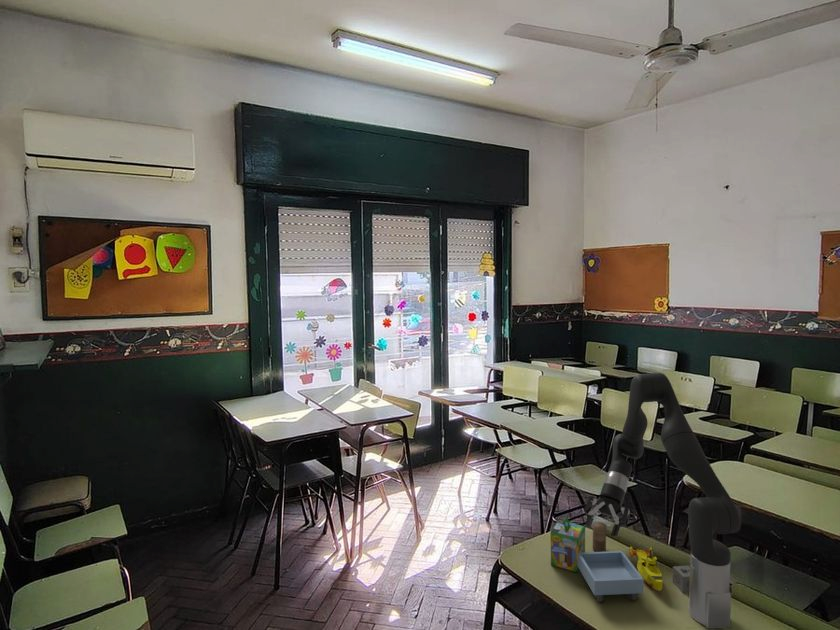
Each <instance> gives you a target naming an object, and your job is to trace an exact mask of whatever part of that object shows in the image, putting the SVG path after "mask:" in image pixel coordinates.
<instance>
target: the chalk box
mask: <svg viewBox="0 0 840 630" xmlns="http://www.w3.org/2000/svg"><path fill="white" fill-rule="evenodd" d="M583 552H586V526H584V525H580V524H577V523H574V522H570V519H569V516H568V515H567V514H566V516H564V519H563V520H560V519H558V520H557V521H556V523H555V524H554V526H553V527H552V529H551V530H550V565H551V566H552V567H557V568H560V569H564V570H567V571H571V572H574V573H577V574H579V573H581V571H580V569H579V568H578V566H577V553H583Z"/></svg>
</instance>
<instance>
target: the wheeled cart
mask: <svg viewBox="0 0 840 630" xmlns="http://www.w3.org/2000/svg"><path fill="white" fill-rule="evenodd" d="M577 566H578V568H579V569H580V573H581V575H582V576H583V579H584V581H585V582H586V583H587V585H588V587H589V588H590V590H591V593H593V595H594V596H595V599H596V601H597V602H600V603H601V602H604V596H609V595H628V596H627V597H628V599H629V600H630V601H637V599H638V598H637V597H638V595H637V594H644V586H645V584H644V583H645V581H644V579H643V578H642V576H641V575H640V573H639V572H638V569H637V567H635V566H634V564H633V563H632V561H630V559H629V558H628V556H627V555H626V554H625V552H623V550H615V551H613V550H612V551H606V552H594V551H592V552H591V551H589V552H588V551H587V552H586V551H585V552H583V553H577Z"/></svg>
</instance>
